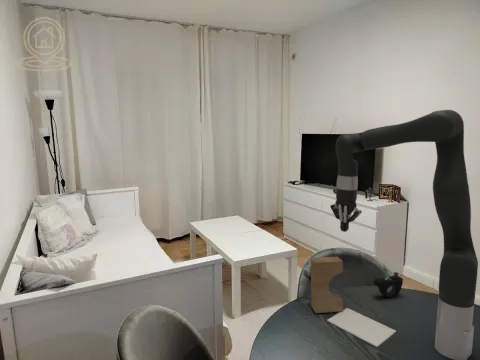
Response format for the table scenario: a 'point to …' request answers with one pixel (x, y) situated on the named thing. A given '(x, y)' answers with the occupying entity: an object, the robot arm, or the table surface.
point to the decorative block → (325, 284)
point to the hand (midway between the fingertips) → (344, 230)
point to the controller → (387, 282)
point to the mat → (362, 327)
